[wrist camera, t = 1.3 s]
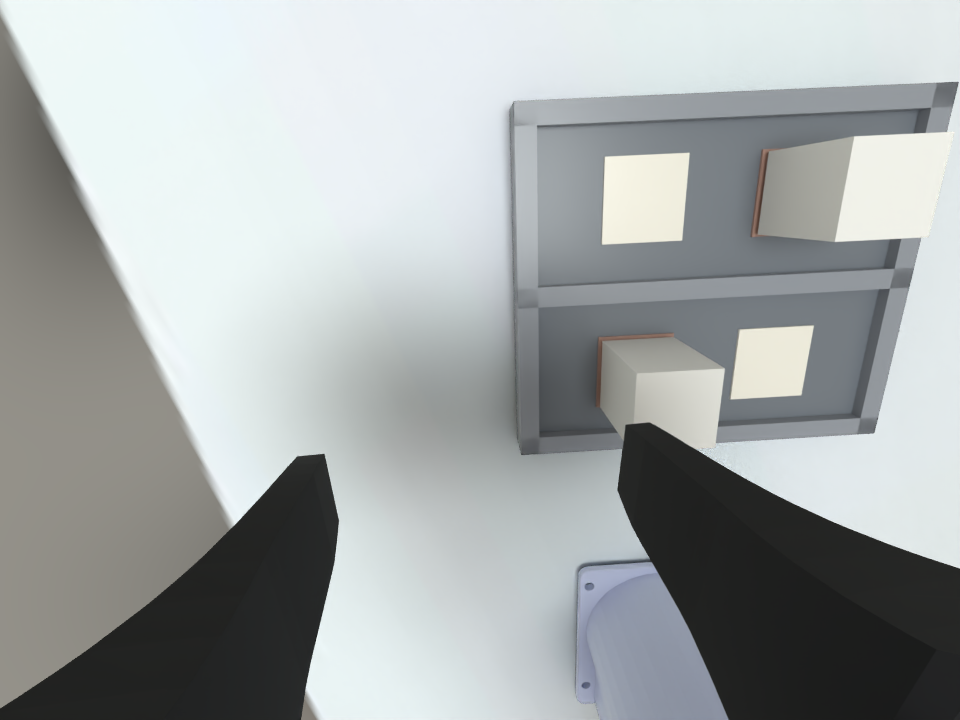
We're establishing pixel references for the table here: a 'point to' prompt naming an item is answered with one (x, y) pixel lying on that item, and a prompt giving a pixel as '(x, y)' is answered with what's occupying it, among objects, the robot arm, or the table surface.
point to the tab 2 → (855, 188)
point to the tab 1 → (662, 388)
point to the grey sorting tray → (700, 258)
